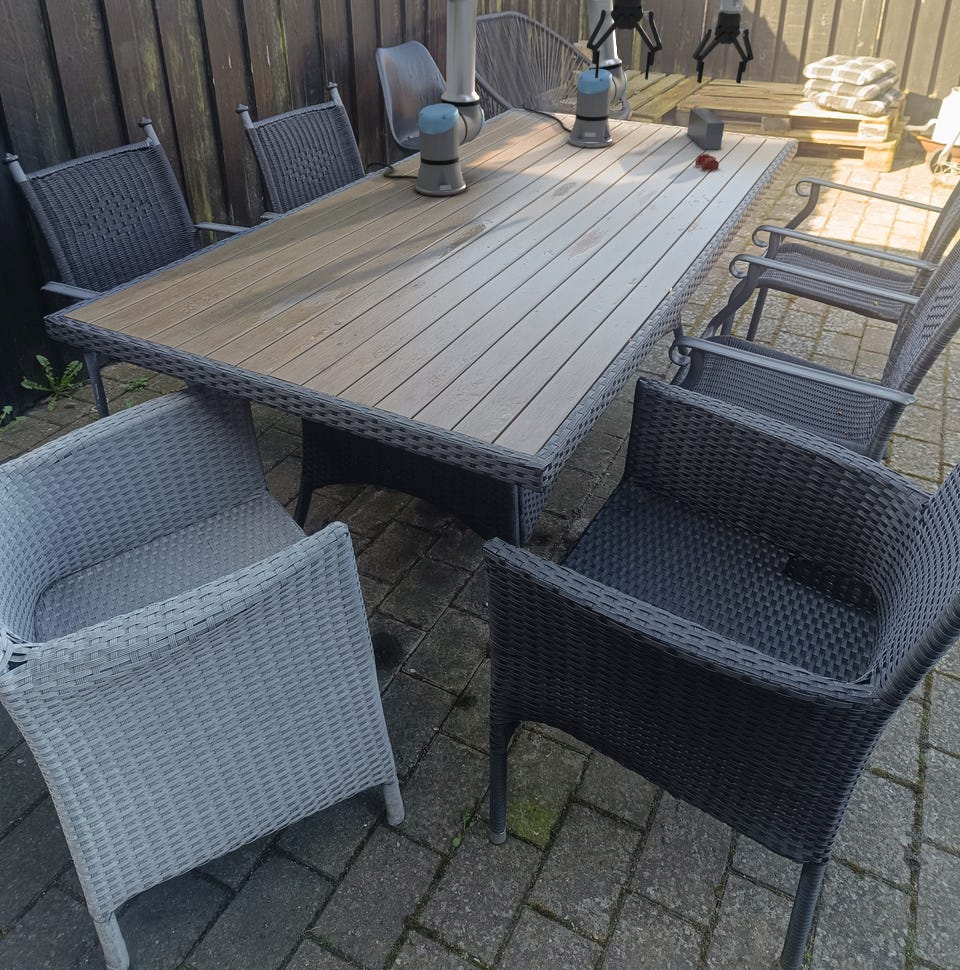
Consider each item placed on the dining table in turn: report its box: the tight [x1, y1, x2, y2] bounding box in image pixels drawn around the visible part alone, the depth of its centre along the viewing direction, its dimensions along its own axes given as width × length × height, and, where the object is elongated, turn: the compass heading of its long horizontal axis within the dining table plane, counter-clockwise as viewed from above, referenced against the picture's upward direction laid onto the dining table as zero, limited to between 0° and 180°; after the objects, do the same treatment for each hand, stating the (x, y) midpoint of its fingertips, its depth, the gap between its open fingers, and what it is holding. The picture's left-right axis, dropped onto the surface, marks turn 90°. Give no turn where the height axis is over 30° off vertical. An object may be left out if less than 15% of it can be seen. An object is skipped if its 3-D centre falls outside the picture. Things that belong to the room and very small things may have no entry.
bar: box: [686, 107, 725, 151], centre depth 304 cm, size 23×6×9 cm, turn 3°
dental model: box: [694, 153, 720, 171], centre depth 277 cm, size 6×4×8 cm
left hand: (621, 78), depth 232 cm, fingers open, 13 cm apart
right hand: (718, 82), depth 287 cm, fingers open, 13 cm apart
